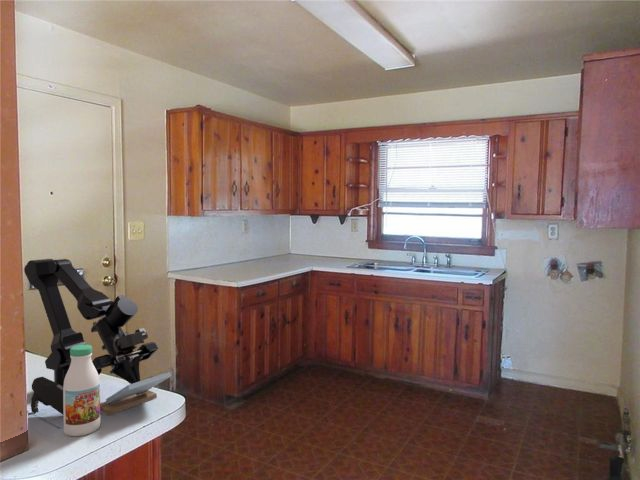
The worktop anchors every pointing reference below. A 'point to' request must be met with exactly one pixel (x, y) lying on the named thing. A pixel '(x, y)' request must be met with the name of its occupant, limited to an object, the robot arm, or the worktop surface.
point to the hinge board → (127, 402)
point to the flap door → (137, 388)
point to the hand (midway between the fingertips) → (138, 385)
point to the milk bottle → (81, 393)
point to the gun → (47, 394)
